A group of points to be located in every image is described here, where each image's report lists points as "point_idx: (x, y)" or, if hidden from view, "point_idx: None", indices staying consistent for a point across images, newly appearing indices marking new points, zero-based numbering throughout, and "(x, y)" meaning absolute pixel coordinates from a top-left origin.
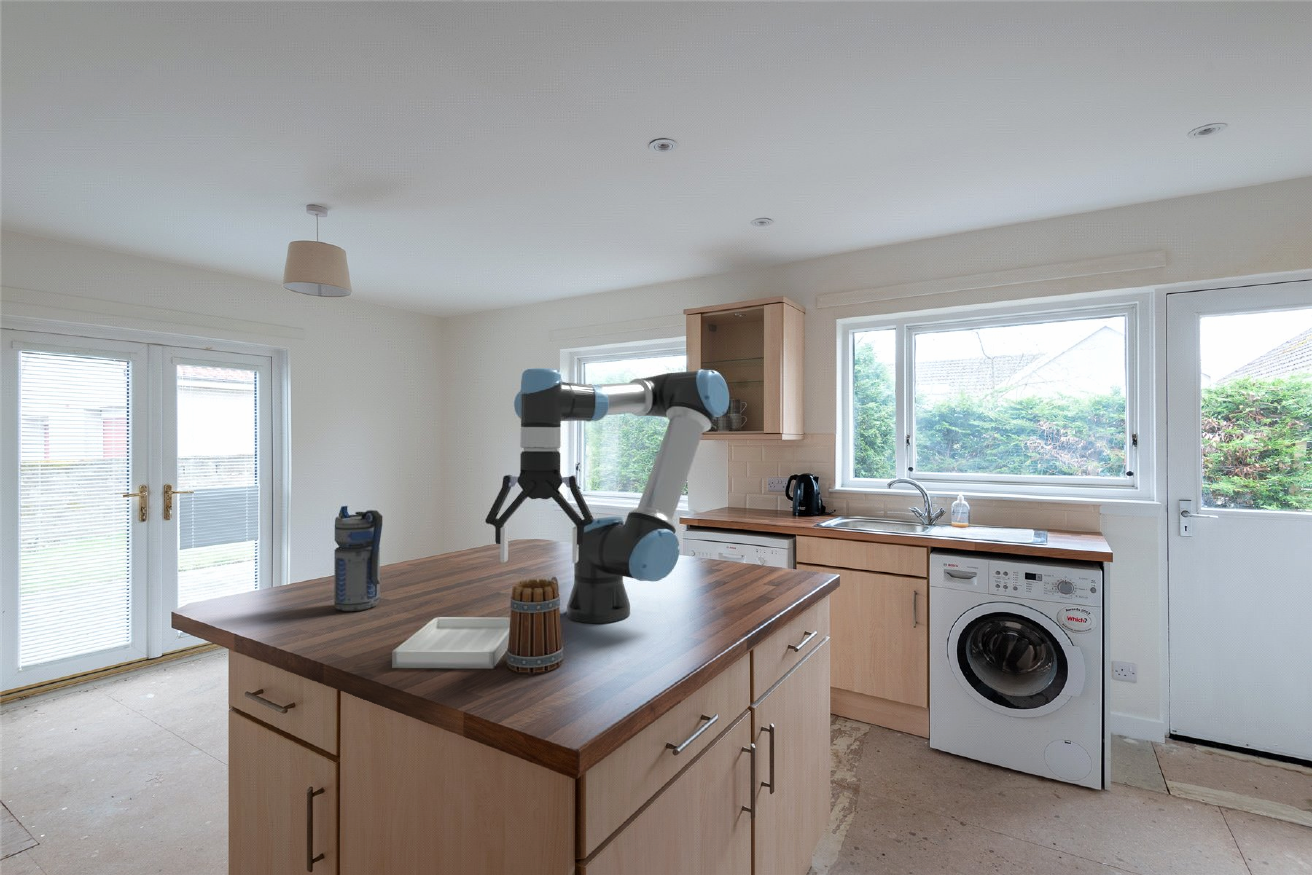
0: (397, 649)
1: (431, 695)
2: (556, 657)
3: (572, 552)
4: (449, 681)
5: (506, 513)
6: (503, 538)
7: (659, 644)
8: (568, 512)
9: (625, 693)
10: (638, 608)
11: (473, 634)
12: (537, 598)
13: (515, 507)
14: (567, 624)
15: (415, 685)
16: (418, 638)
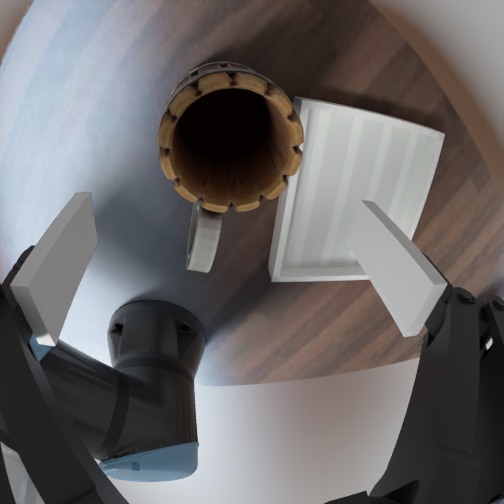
0: (440, 141)
1: (367, 11)
2: (175, 86)
3: (75, 213)
4: (353, 54)
5: (467, 347)
6: (411, 251)
7: (33, 212)
8: (16, 380)
9: (63, 7)
10: (108, 351)
11: (340, 236)
12: (215, 74)
13: (447, 392)
14: (194, 296)
15: (395, 52)
16: (415, 204)
